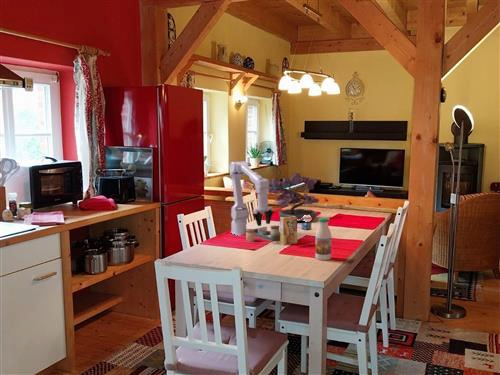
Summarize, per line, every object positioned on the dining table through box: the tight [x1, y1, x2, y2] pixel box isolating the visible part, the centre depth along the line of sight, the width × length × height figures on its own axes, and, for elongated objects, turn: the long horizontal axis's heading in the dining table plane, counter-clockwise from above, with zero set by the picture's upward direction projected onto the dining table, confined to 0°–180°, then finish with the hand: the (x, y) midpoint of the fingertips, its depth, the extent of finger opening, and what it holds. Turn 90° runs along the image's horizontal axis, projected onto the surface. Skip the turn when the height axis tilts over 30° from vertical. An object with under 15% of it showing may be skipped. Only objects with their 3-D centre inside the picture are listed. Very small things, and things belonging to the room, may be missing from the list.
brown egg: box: [270, 225, 280, 237], centre depth 277 cm, size 5×5×7 cm
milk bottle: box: [314, 217, 332, 261], centre depth 236 cm, size 8×8×20 cm
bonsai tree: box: [268, 172, 320, 221], centre depth 335 cm, size 35×27×32 cm
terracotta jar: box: [245, 228, 256, 243], centre depth 273 cm, size 5×5×7 cm
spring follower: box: [257, 226, 268, 235], centre depth 288 cm, size 4×6×4 cm, turn 126°
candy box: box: [279, 216, 298, 246], centre depth 265 cm, size 9×4×15 cm, turn 116°
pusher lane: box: [254, 227, 280, 242], centre depth 282 cm, size 22×12×4 cm, turn 36°
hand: (263, 224), depth 272 cm, fingers open, 7 cm apart
